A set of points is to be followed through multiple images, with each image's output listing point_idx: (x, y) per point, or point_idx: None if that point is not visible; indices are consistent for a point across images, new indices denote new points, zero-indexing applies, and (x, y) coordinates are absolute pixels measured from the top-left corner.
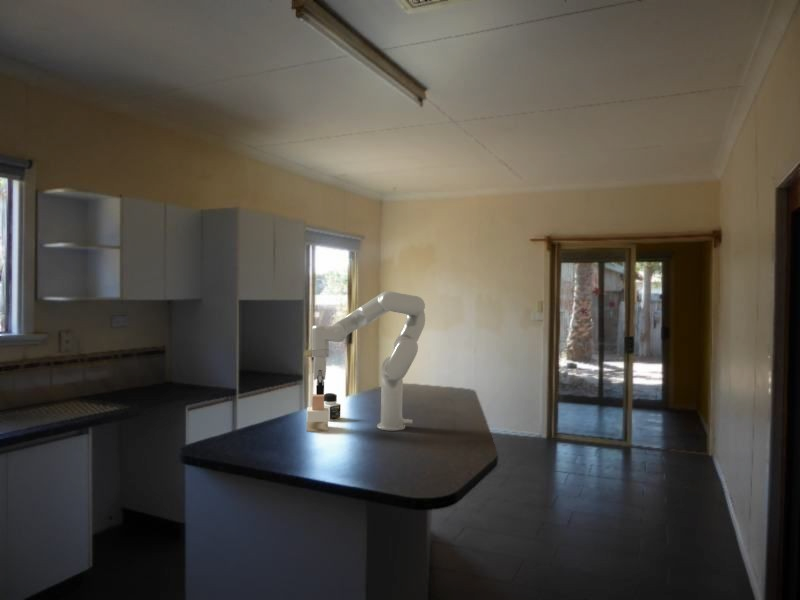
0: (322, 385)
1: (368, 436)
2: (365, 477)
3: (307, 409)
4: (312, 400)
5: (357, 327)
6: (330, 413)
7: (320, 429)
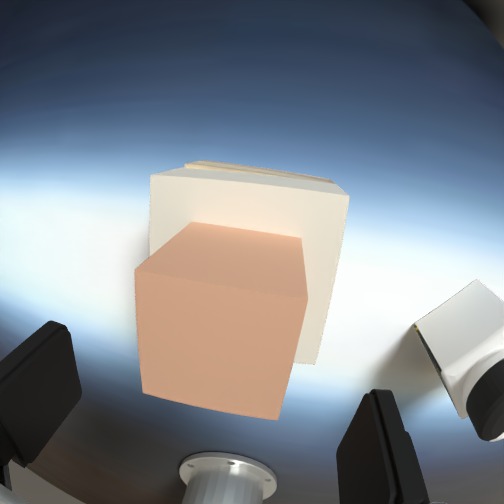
0: (7, 448)
1: (110, 394)
2: None
3: (235, 182)
4: (157, 251)
5: None
6: (427, 349)
7: None
